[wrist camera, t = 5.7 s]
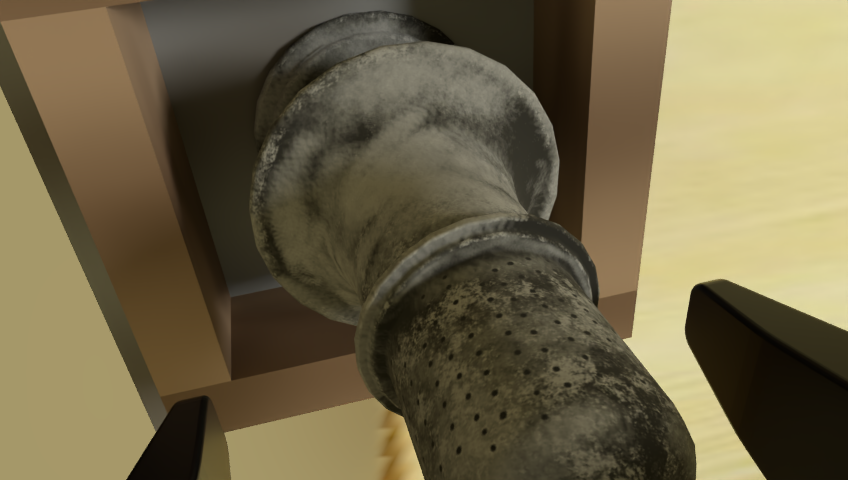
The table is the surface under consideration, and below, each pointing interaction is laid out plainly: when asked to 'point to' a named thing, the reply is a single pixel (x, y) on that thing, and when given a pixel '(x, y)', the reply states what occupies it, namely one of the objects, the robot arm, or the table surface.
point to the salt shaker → (450, 257)
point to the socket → (236, 154)
